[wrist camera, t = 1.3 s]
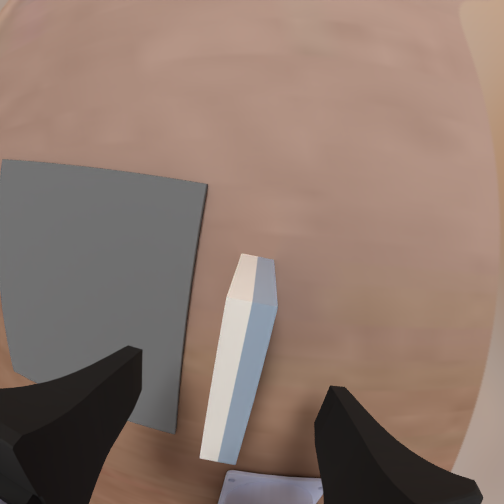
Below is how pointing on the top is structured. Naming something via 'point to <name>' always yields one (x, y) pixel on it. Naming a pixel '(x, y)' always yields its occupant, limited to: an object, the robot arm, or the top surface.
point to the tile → (239, 357)
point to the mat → (98, 273)
